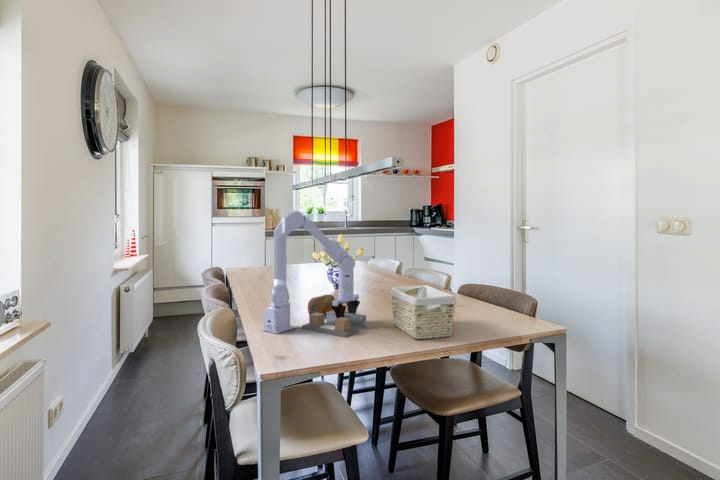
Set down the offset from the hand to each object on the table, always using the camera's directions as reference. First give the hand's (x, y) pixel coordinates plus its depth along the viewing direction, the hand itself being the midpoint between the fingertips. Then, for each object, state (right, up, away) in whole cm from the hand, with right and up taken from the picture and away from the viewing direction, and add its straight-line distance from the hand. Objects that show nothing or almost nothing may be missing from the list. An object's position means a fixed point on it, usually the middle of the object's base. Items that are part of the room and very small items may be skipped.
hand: (346, 321), depth 152 cm
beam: (0, -2, 0) cm, 2 cm away
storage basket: (+28, -2, -7) cm, 29 cm away
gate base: (-6, -2, -7) cm, 9 cm away
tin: (-11, -1, +15) cm, 18 cm away
